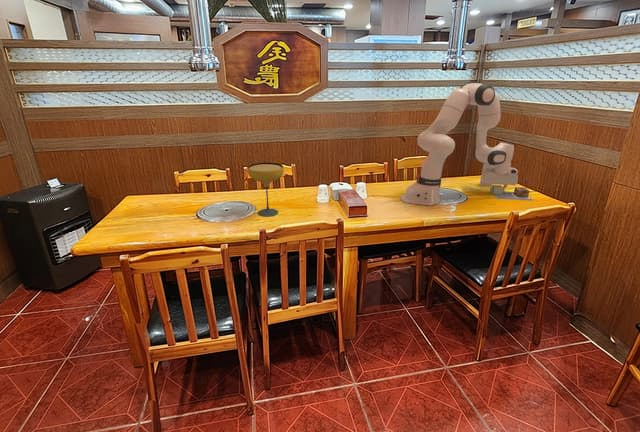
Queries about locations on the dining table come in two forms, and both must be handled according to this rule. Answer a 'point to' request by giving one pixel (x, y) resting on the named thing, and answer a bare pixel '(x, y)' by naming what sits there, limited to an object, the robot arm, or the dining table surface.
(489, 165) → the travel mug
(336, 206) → the dining table surface
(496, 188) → the sage block
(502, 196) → the build board
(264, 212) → the cocktail glass
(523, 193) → the walnut block
